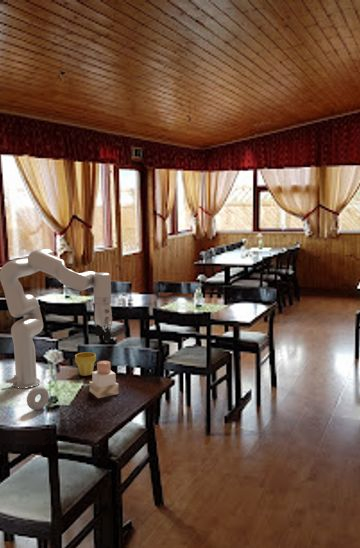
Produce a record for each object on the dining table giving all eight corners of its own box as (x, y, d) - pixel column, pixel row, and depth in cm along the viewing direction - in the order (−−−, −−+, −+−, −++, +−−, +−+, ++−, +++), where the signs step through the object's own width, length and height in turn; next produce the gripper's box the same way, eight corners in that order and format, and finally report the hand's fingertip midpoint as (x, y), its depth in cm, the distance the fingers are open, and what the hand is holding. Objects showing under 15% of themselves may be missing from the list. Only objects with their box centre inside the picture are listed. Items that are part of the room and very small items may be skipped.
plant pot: (75, 371, 281) (74, 352, 280) (96, 369, 283) (95, 351, 282) (75, 377, 271) (75, 358, 270) (96, 376, 273) (96, 357, 272)
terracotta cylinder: (100, 375, 245) (100, 365, 244) (95, 371, 250) (94, 362, 249) (112, 372, 248) (112, 363, 247) (107, 369, 253) (107, 360, 252)
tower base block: (98, 398, 244) (97, 388, 243) (89, 392, 252) (89, 381, 251) (118, 394, 249) (118, 383, 248) (109, 388, 257) (109, 377, 256)
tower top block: (99, 387, 244) (99, 376, 243) (92, 382, 250) (92, 371, 250) (115, 384, 248) (115, 373, 247) (108, 379, 254) (108, 368, 254)
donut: (29, 414, 226) (28, 390, 225) (25, 411, 229) (24, 388, 227) (51, 407, 233) (50, 384, 232) (46, 405, 236) (45, 382, 234)
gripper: (118, 303, 239) (118, 341, 242) (102, 296, 254) (103, 332, 256) (102, 304, 235) (102, 343, 238) (87, 297, 250) (88, 334, 252)
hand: (102, 337), depth 247 cm, fingers open, 9 cm apart
